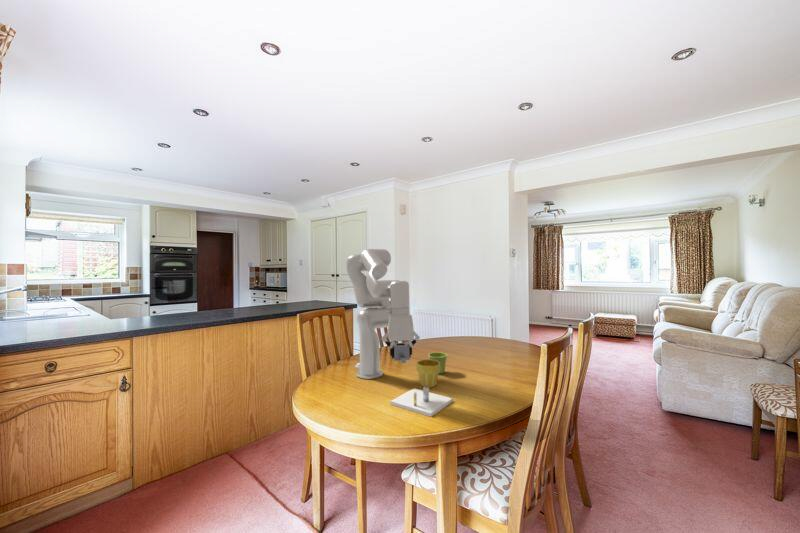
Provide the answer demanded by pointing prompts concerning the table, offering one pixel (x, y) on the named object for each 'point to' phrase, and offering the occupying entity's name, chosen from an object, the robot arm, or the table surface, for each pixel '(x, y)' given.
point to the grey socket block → (401, 352)
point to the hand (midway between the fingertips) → (401, 356)
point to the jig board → (421, 402)
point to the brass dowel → (415, 399)
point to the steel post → (426, 394)
